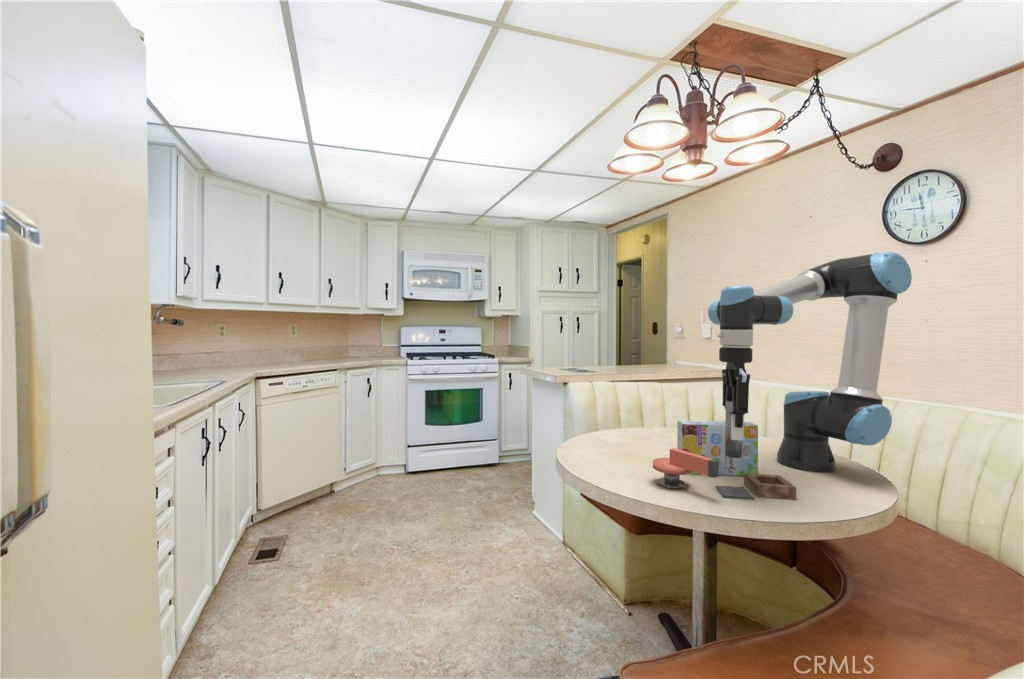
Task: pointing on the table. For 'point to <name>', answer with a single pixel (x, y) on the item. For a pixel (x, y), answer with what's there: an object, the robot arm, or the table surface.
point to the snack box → (719, 445)
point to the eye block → (769, 486)
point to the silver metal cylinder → (731, 446)
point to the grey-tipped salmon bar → (686, 464)
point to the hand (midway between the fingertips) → (734, 437)
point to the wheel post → (671, 481)
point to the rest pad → (734, 492)
